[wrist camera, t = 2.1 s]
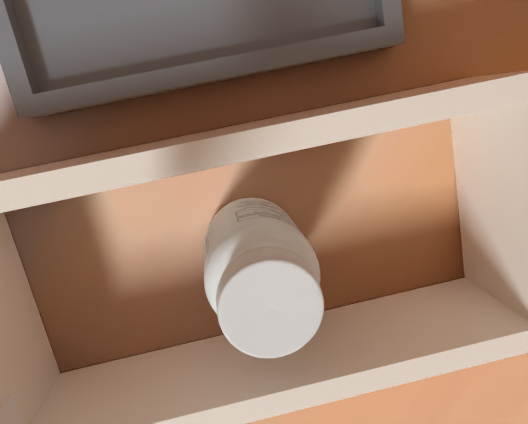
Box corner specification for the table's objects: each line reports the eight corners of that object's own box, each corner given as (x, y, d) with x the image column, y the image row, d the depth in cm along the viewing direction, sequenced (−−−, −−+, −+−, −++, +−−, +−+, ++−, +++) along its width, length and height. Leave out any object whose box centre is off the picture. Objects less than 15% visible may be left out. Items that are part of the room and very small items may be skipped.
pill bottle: (250, 300, 22) (270, 398, 15) (185, 241, 21) (171, 313, 14) (314, 239, 22) (368, 308, 14) (252, 176, 21) (275, 214, 13)
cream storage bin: (46, 395, 22) (-7, 486, 17) (-33, 180, 19) (-126, 207, 14) (483, 290, 24) (563, 343, 18) (467, 77, 21) (554, 66, 16)
